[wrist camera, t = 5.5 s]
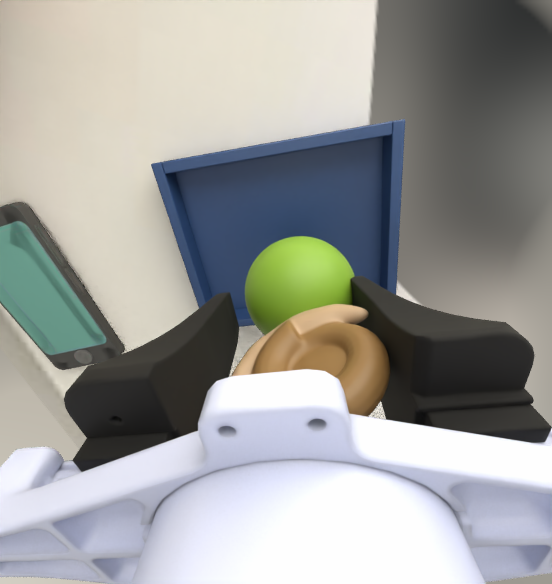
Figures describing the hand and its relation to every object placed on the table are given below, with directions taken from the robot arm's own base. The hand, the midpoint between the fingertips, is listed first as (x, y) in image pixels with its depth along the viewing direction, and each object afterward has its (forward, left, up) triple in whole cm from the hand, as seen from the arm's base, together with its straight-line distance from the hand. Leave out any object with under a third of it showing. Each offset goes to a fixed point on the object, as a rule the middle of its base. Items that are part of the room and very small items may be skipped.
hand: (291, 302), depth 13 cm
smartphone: (-2, +22, -10) cm, 24 cm away
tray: (0, 0, -10) cm, 10 cm away
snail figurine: (0, 0, -4) cm, 4 cm away
